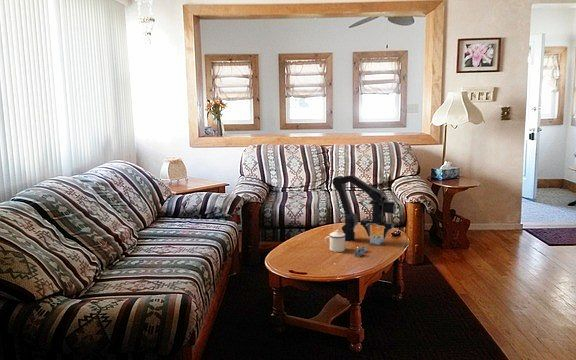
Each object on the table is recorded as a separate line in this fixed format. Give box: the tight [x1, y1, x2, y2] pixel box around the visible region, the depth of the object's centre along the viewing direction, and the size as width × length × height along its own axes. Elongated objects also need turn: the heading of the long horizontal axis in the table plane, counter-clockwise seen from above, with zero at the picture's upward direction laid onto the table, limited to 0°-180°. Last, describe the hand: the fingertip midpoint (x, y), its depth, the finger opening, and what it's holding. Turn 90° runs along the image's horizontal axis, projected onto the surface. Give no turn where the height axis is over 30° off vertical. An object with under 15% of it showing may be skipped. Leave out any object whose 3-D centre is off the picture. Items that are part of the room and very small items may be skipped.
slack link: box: [359, 245, 368, 254], centre depth 273 cm, size 4×3×2 cm
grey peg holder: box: [369, 233, 385, 247], centre depth 286 cm, size 8×8×5 cm
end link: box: [369, 234, 384, 245], centre depth 287 cm, size 6×6×4 cm
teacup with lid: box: [324, 229, 346, 253], centre depth 276 cm, size 12×9×12 cm
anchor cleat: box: [354, 246, 364, 258], centre depth 266 cm, size 5×3×5 cm, turn 150°
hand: (376, 237), depth 286 cm, fingers open, 9 cm apart
